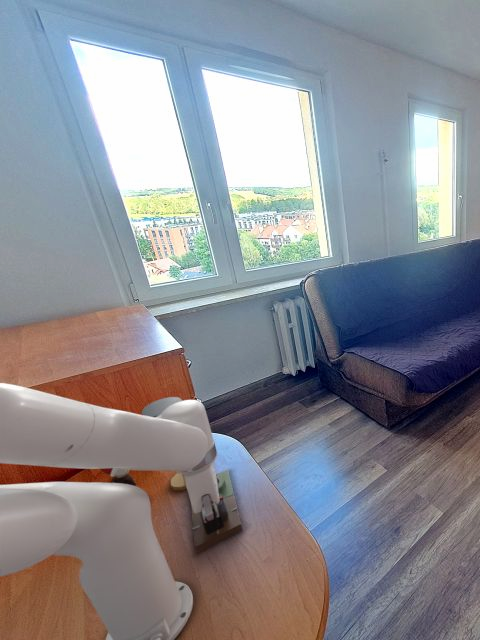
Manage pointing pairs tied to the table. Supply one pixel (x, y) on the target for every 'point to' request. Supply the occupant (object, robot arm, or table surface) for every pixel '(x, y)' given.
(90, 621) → the table surface
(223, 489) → the switch base
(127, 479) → the grandmother figurine
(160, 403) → the desk lamp
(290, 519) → the table surface
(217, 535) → the dimmer panel
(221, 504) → the dimmer knob
